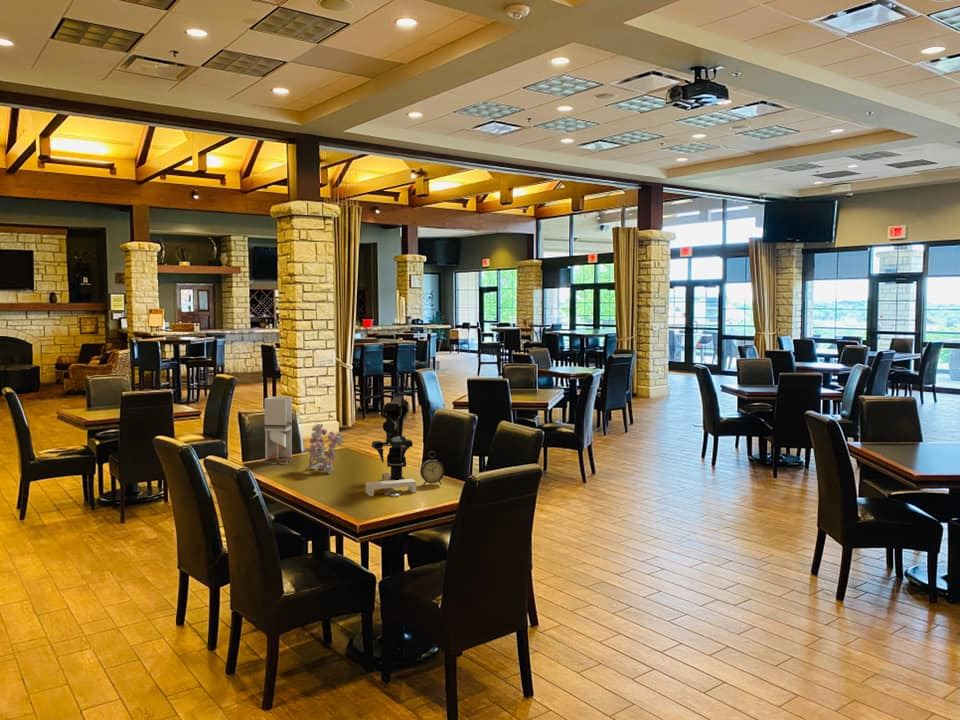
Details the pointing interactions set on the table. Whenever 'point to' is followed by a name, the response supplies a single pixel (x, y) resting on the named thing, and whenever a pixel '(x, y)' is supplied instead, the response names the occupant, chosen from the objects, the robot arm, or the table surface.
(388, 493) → the birch pusher
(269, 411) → the grey dispenser
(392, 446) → the robot arm
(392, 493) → the steel disc
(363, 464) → the table surface
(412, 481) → the cream bench
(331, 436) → the flower
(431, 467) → the alarm clock
